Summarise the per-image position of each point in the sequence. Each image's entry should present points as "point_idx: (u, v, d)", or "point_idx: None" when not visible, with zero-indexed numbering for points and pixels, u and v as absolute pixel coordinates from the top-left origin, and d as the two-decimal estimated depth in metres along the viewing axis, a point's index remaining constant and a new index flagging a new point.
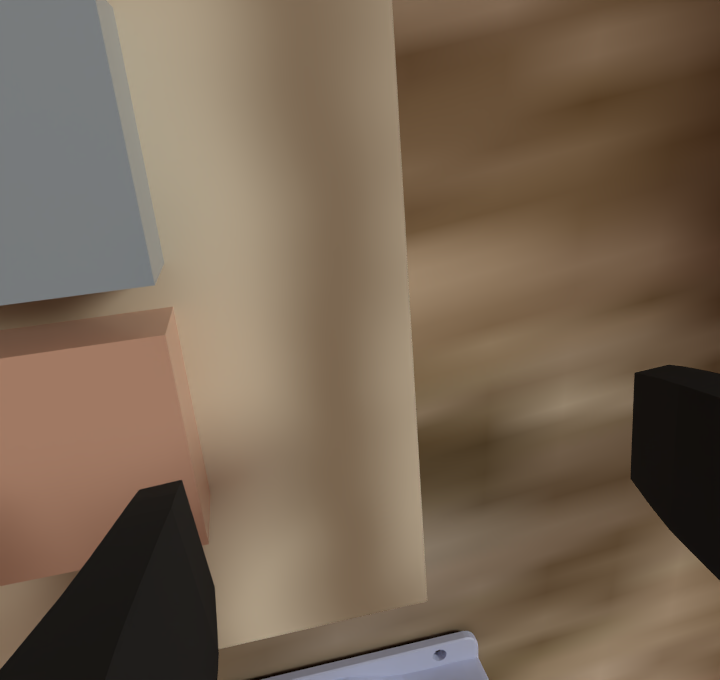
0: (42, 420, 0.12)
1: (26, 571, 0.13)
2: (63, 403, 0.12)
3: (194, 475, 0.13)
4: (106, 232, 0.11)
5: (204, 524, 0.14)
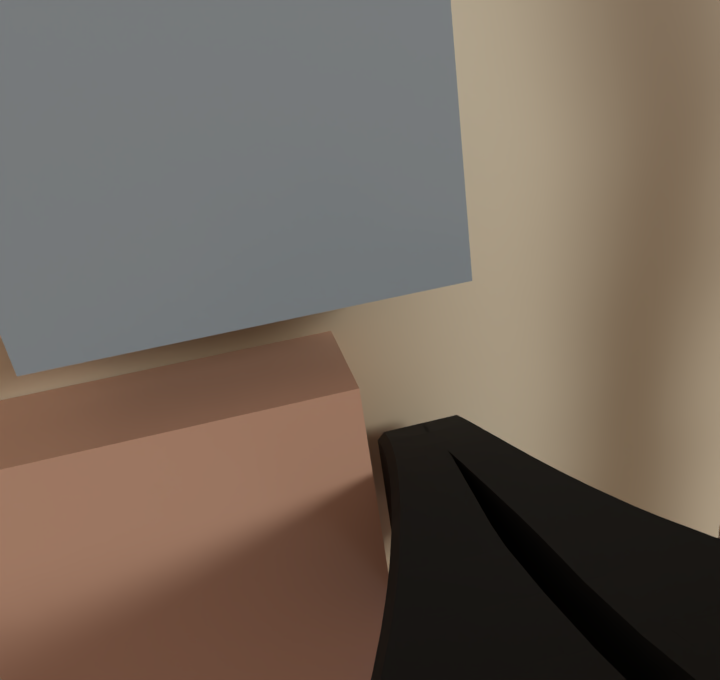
0: (166, 537, 0.07)
1: None
2: (198, 508, 0.07)
3: None
4: (407, 196, 0.07)
5: None
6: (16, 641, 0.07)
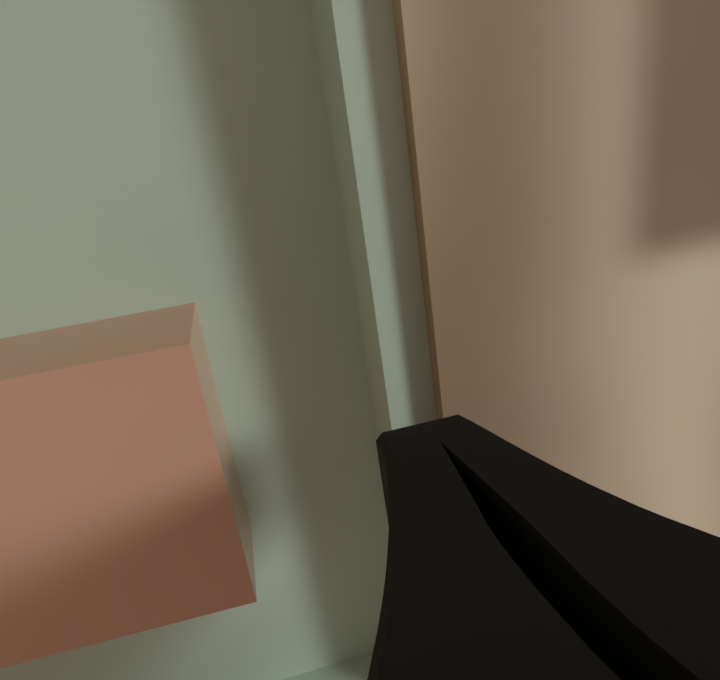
0: None
1: None
2: None
3: None
4: None
5: None
6: None
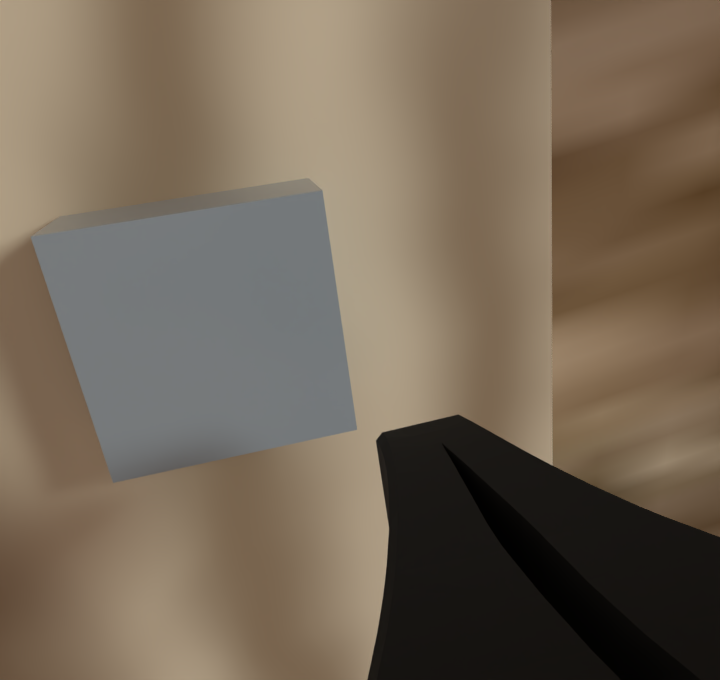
0: None
1: None
2: None
3: None
4: (319, 390, 0.12)
5: None
6: None
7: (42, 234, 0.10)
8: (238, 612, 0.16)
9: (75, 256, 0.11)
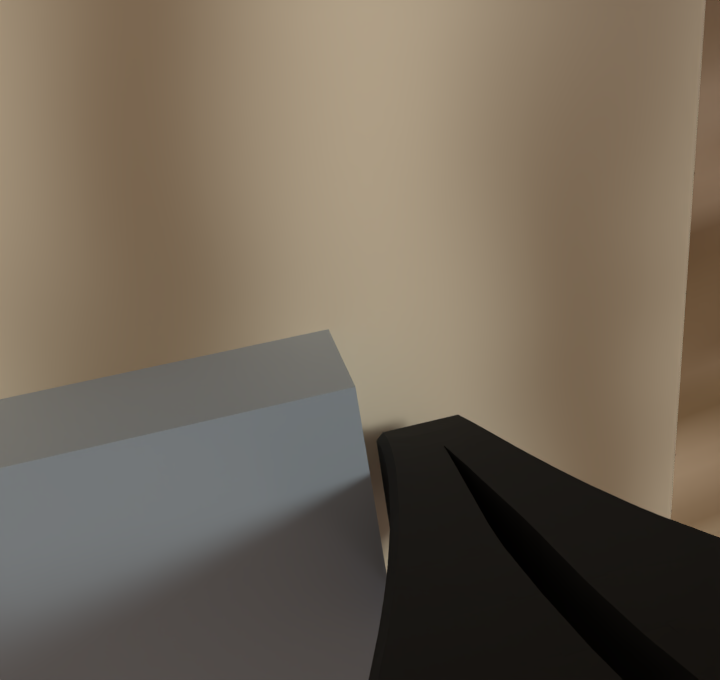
0: None
1: None
2: None
3: None
4: (352, 641, 0.09)
5: None
6: None
7: None
8: None
9: None
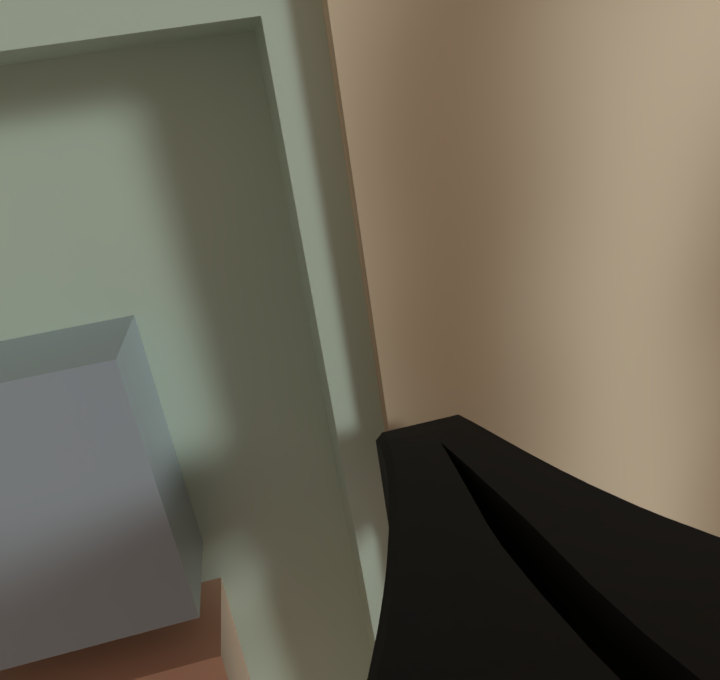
0: None
1: None
2: None
3: None
4: None
5: None
6: None
7: (122, 317, 0.10)
8: None
9: None
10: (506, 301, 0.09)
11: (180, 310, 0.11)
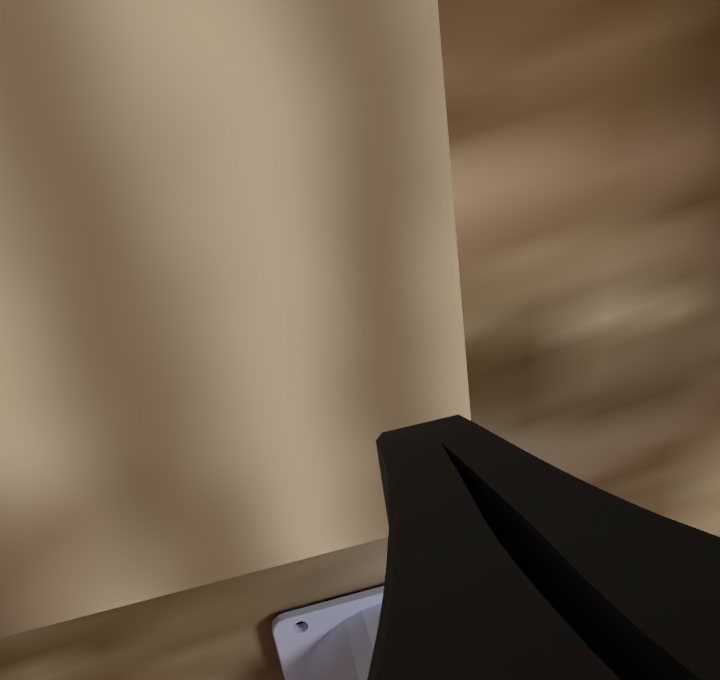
0: None
1: None
2: None
3: None
4: None
5: None
6: None
7: None
8: (114, 439, 0.15)
9: None
10: None
11: None
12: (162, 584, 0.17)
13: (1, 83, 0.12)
